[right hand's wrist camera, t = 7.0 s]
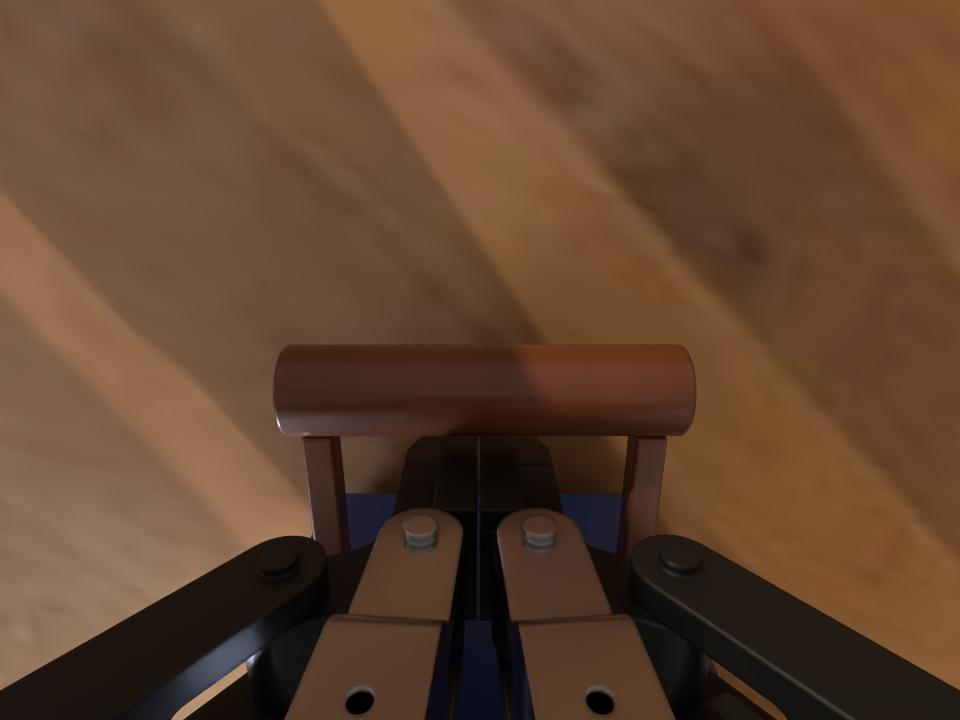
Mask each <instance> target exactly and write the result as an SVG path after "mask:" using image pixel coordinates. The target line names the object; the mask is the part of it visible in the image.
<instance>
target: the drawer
mask: <svg viewBox="0 0 960 720" xmlns="http://www.w3.org/2000/svg"><path fill="white" fill-rule="evenodd" d="M273 405H274V412H275V417H276V421H277V424H278V426H279V428H280V430H281V431H282V433H283V434H285V435H287V436H303V437H302V439H301V443H302V451H303V458H304V466H305V474H306V482H307V490H308V498H309V506H310V514H311V522H312V530H313V534H312V536H311V539H313V540H315V541H317V542H319V543H320V544H321V545H322V546H323V548H324V549H325V552H326V556H330V555H334V554H339V553H343V552H348V551H351V550H355V549H358V548H361V547H363V546H365V545H367V544H369V543H371V542H373V541H374V540H376V538H377V536H378V533H379V531H380V529H381V527H382V526H383V525H384V523H385V522H386V521H388V520H389V519H390V518H392V514H393V509H394V505H395V501H396V497H397V494H346V493H345V483H344V472H343V462H342V452H341V442H340V436H628V443H627V452H626V462H625V472H624V482H623V491H622V493H559V495H560V499H561V503H562V508H563V512H564V515H565V516H567V517H568V518H570V519H571V520H572V521H574V522H575V523H576V525H577V526H578V527H579V529H580V531H581V533H582V536H583V538H584V541H585V543H586V544H588V545H590V546H592V547H595V548H598V549H600V550H604V551H608V552H612V553H616V554H621V555H625V556H630V557H631V555H632V550H633V548H634V546H635V545H636V544H637V543H638V542H639V541H640V540H642V539H644V538H646V537H650V536H654V535H655V530H656V523H657V515H658V507H659V500H660V492H661V484H662V477H663V469H664V461H665V454H666V446H667V438H666V436H681V435H683V434H685V433H686V432H687V431H688V430H689V428H690V426H691V424H692V421H693V417H694V413H695V406H696V378H695V372H694V367H693V363H692V360H691V357H690V355H689V353H688V351H687V350H686V349H685V348H684V347H683V346H681V345H679V344H375V345H288V346H286V347H285V348H284V349H283V350H282V351H281V353H280V355H279V357H278V360H277V364H276V368H275V373H274V380H273ZM464 656H465V658H464V671H463V679H462V687H461V696H460V704H459V713H458V720H502V713H501V704H500V696H499V687H498V679H497V671H496V658H495V656H496V649H495V647H494V644H493V641H492V623H491V621H480V494H477V600H476V620H465V630H464ZM709 670H710V671H712V672H713V673H714V674H716V675H717V676H718V677H719V675H718V673H717V671H716V669H715V667H714V664H713V662H712V660H710V665H709Z"/></svg>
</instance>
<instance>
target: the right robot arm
mask: <svg viewBox="0 0 960 720" xmlns="http://www.w3.org/2000/svg"><path fill="white" fill-rule="evenodd" d="M476 600H477V436H442V437H420V438H419V439H418V440H417V441H416V442H415V443H414V444H413V445H412V446H411V447H410V448H409V449H408V452H407V456H406V460H405V466H404V468H403V472H402V477H401V481H400V485H399V489H398V493H397V497H396V501H395V505H394V509H393V514H392V518H390V519H389V520H388V521H386V522H385V523H384V525H383V526H382V527H381V529H380V531H379V533H378V536H377V538H376V540H374V541H373V542H371V543H369V544H367V545H365V546H363V547H361V548H358V549H355V550H351V551H348V552H343V553H339V554H334V555H330V556H326V552H325V549H324V548H323V546H322V545H321V544H320V543H319V542H317V541H315V540H313V539H311V538H308V537H303V536H283V537H278V538H274V539H270V540H267V541H265V542H262V543H260V544H258V545H256V546H254V547H252V548H250V549H249V550H247V551H245V552H243V553H242V554H240V555H238V556H236V557H235V558H233V559H231V560H229V561H228V562H226V563H224V564H222V565H220V566H219V567H217V568H215V569H213V570H212V571H210V572H208V573H206V574H205V575H203V576H201V577H199V578H198V579H196V580H194V581H192V582H191V583H189V584H187V585H185V586H183V587H182V588H180V589H178V590H176V591H175V592H173V593H171V594H169V595H168V596H166V597H164V598H162V599H161V600H159V601H157V602H155V603H154V604H152V605H150V606H148V607H146V608H145V609H143V610H141V611H139V612H138V613H136V614H134V615H132V616H131V617H129V618H127V619H125V620H124V621H122V622H120V623H118V624H117V625H115V626H113V627H111V628H109V629H108V630H106V631H104V632H102V633H101V634H99V635H97V636H95V637H94V638H92V639H90V640H88V641H87V642H85V643H83V644H81V645H80V646H78V647H76V648H74V649H72V650H71V651H69V652H67V653H65V654H64V655H62V656H60V657H58V658H57V659H55V660H53V661H51V662H50V663H48V664H46V665H44V666H43V667H41V668H39V669H37V670H35V671H34V672H32V673H30V674H28V675H27V676H25V677H23V678H21V679H20V680H18V681H16V682H14V683H13V684H11V685H9V686H7V687H6V688H4V689H2V690H0V720H171V718H172V717H173V716H174V715H175V714H176V713H177V712H178V711H179V710H180V709H181V708H182V707H183V706H184V705H186V704H187V703H188V702H190V701H191V700H192V699H194V698H195V697H197V696H198V695H199V694H201V693H202V692H203V691H205V690H206V689H208V688H209V687H210V686H212V685H213V684H214V683H216V682H217V681H219V680H220V679H221V678H223V677H224V676H226V675H227V674H228V673H230V672H231V671H232V670H234V669H235V668H237V667H238V666H239V665H241V664H242V663H243V662H245V661H246V666H247V671H248V672H247V673H246V674H244V675H243V676H242V677H240V678H239V679H238V680H236V681H235V682H234V683H232V684H231V685H230V686H228V687H227V688H225V689H224V690H223V691H221V692H220V693H219V694H217V695H216V696H215V697H213V698H212V699H211V700H209V701H208V702H207V703H205V704H204V705H203V706H201V707H200V708H199V709H197V710H196V711H194V712H193V713H192V714H190V715H189V716H188V717H186V718H185V719H184V720H458V713H459V704H460V696H461V687H462V679H463V671H464V658H465V656H464V630H465V620H476ZM480 621H491V623H492V641H493V644H494V647H495V649H496V656H495V658H496V671H497V679H498V687H499V696H500V704H501V713H502V720H776V719H775V718H774V717H772V716H771V715H770V714H768V713H767V712H765V711H764V710H763V709H761V708H760V707H759V706H757V705H756V704H755V703H753V702H752V701H751V700H749V699H748V698H747V697H745V696H744V695H743V694H741V693H740V692H739V691H737V690H736V689H735V688H733V687H732V686H730V685H729V684H728V683H726V682H725V681H724V680H722V679H721V678H720V677H718V676H717V675H716V674H714V673H713V672H712V671H710V670H709V665H710V660H711V659H712V660H714V661H715V662H717V663H718V664H719V665H721V666H722V667H723V668H725V669H726V670H728V671H729V672H730V673H732V674H733V675H734V676H736V677H737V678H739V679H740V680H741V681H743V682H744V683H746V684H747V685H748V686H750V687H751V688H752V689H754V690H755V691H757V692H758V693H759V694H761V695H762V696H763V697H765V698H766V699H768V700H769V701H770V702H772V703H773V704H774V705H775V706H776V707H777V708H778V709H780V710H781V712H782V713H783V714H784V715H785V716H786V718H787V719H788V720H960V690H958V689H956V688H954V687H953V686H951V685H949V684H947V683H946V682H944V681H942V680H940V679H939V678H937V677H935V676H933V675H932V674H930V673H928V672H926V671H925V670H923V669H921V668H919V667H917V666H916V665H914V664H912V663H910V662H909V661H907V660H905V659H903V658H902V657H900V656H898V655H896V654H895V653H893V652H891V651H889V650H888V649H886V648H884V647H882V646H880V645H879V644H877V643H875V642H873V641H872V640H870V639H868V638H866V637H865V636H863V635H861V634H859V633H858V632H856V631H854V630H852V629H851V628H849V627H847V626H845V625H843V624H842V623H840V622H838V621H836V620H835V619H833V618H831V617H829V616H828V615H826V614H824V613H822V612H821V611H819V610H817V609H815V608H814V607H812V606H810V605H808V604H806V603H805V602H803V601H801V600H799V599H798V598H796V597H794V596H792V595H791V594H789V593H787V592H785V591H784V590H782V589H780V588H778V587H777V586H775V585H773V584H771V583H769V582H768V581H766V580H764V579H762V578H761V577H759V576H757V575H755V574H754V573H752V572H750V571H748V570H747V569H745V568H743V567H741V566H740V565H738V564H736V563H734V562H732V561H731V560H729V559H727V558H725V557H724V556H722V555H720V554H718V553H717V552H715V551H713V550H711V549H710V548H708V547H706V546H704V545H702V544H700V543H698V542H696V541H694V540H691V539H688V538H685V537H681V536H676V535H654V536H650V537H646V538H644V539H642V540H640V541H639V542H638V543H637V544H636V545H635V546H634V548H633V550H632V555H631V557H630V556H625V555H621V554H616V553H612V552H608V551H604V550H600V549H598V548H595V547H592V546H590V545H588V544H586V543H585V541H584V538H583V536H582V533H581V531H580V529H579V527H578V526H577V525H576V523H575V522H574V521H572V520H571V519H570V518H568V517H567V516H565V515H564V512H563V508H562V503H561V499H560V495H559V491H558V486H557V482H556V478H555V473H554V469H553V466H552V460H551V456H550V452H549V449H548V448H547V447H546V446H545V445H544V444H543V443H542V442H541V441H540V440H539V439H538V438H537V437H515V436H480Z"/></svg>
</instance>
